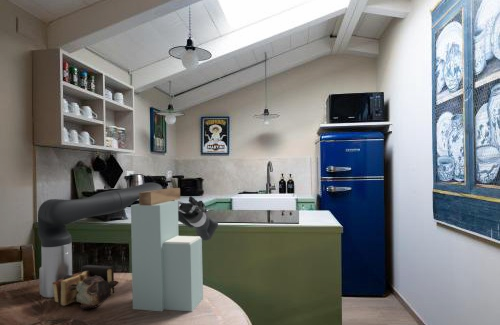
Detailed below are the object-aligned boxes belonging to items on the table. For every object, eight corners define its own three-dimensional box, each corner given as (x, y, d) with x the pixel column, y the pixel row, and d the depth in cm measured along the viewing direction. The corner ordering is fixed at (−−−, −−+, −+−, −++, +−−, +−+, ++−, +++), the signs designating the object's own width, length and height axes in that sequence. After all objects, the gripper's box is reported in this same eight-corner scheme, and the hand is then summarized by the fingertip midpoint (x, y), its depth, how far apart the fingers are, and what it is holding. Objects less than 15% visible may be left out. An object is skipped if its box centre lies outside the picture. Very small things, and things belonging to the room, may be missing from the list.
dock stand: (132, 308, 96) (130, 205, 97) (153, 293, 108) (151, 201, 109) (189, 313, 92) (187, 205, 93) (204, 297, 104) (202, 201, 104)
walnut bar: (139, 205, 96) (139, 192, 96) (170, 198, 116) (170, 188, 116) (151, 205, 95) (150, 192, 95) (180, 198, 115) (179, 187, 115)
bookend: (86, 264, 115) (136, 264, 104) (88, 294, 114) (138, 298, 103) (45, 275, 102) (97, 277, 91) (47, 310, 101) (99, 316, 90)
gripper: (209, 223, 127) (195, 207, 114) (177, 223, 130) (159, 207, 117) (212, 206, 131) (198, 189, 117) (180, 207, 134) (164, 190, 121)
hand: (179, 198), depth 117 cm, fingers open, 8 cm apart
